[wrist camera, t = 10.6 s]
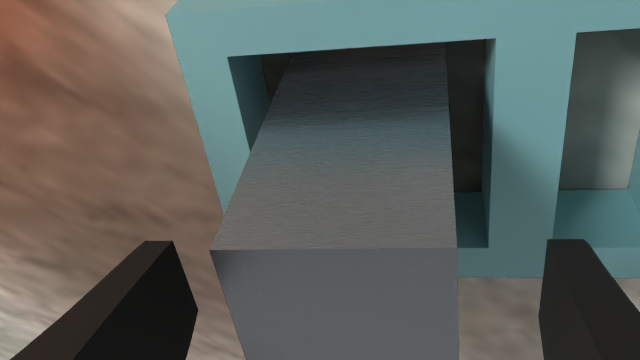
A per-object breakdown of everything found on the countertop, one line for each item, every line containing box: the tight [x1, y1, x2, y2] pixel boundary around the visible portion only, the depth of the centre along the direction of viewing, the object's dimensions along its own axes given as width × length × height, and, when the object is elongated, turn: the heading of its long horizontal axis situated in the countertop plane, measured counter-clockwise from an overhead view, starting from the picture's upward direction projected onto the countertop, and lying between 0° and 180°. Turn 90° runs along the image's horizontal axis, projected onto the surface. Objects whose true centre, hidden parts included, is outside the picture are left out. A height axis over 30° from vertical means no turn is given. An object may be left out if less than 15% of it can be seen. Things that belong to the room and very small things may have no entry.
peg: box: [209, 42, 459, 360], centre depth 14 cm, size 4×4×8 cm
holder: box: [165, 0, 640, 278], centre depth 15 cm, size 15×8×2 cm, turn 98°
